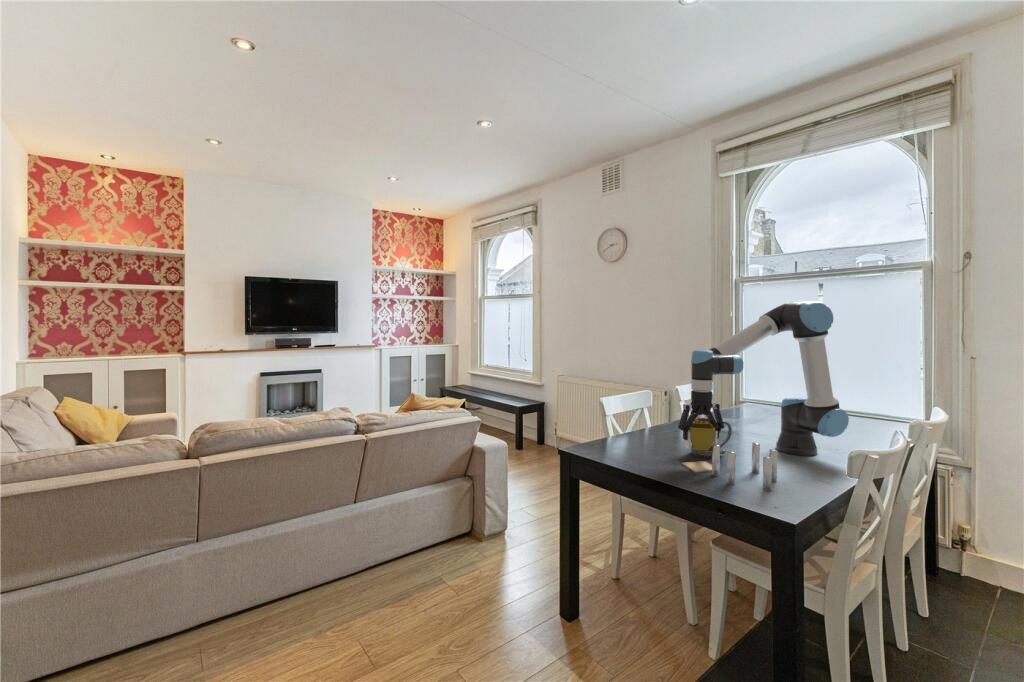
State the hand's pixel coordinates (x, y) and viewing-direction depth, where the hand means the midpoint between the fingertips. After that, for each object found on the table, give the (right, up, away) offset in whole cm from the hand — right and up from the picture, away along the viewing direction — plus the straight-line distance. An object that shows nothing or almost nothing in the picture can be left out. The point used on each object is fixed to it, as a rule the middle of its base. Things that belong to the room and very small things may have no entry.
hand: (700, 447), depth 175 cm
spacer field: (+11, -9, -15) cm, 21 cm away
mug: (+11, -7, +16) cm, 21 cm away
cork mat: (0, -8, 0) cm, 8 cm away
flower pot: (0, -1, 0) cm, 1 cm away
